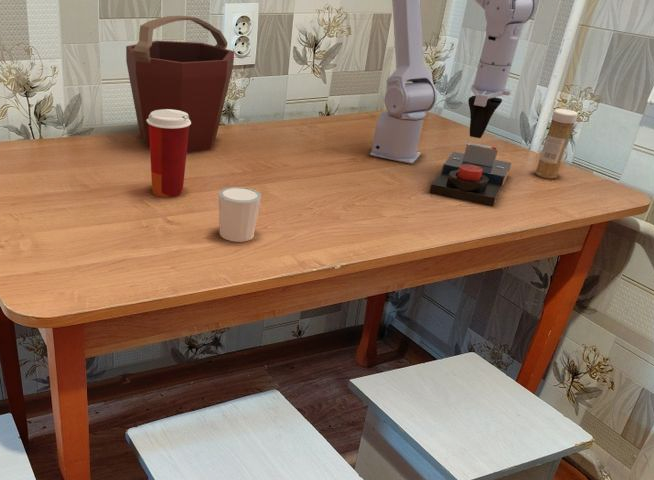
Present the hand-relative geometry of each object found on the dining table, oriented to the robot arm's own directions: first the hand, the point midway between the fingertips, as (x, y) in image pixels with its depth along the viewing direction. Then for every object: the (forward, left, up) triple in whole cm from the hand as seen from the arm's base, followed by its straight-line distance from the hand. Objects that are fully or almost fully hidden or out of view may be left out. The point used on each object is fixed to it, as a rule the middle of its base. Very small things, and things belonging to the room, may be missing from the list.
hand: (475, 136), depth 136 cm
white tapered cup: (-28, -48, -10) cm, 56 cm away
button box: (+1, -5, -10) cm, 11 cm away
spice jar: (+14, +17, -10) cm, 24 cm away
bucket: (-61, -10, -10) cm, 62 cm away
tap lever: (+1, +6, -7) cm, 9 cm away
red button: (+1, -5, -7) cm, 8 cm away
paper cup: (-47, -38, -10) cm, 61 cm away
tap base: (+1, +6, -10) cm, 11 cm away
